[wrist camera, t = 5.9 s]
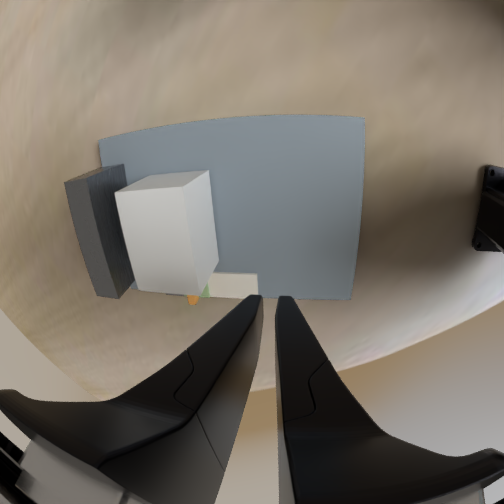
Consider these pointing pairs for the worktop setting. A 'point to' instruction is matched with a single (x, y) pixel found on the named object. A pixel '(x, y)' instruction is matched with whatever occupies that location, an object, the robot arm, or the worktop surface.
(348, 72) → the worktop surface
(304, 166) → the board
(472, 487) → the robot arm
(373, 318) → the worktop surface
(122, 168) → the dark grey upright slab
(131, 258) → the block
